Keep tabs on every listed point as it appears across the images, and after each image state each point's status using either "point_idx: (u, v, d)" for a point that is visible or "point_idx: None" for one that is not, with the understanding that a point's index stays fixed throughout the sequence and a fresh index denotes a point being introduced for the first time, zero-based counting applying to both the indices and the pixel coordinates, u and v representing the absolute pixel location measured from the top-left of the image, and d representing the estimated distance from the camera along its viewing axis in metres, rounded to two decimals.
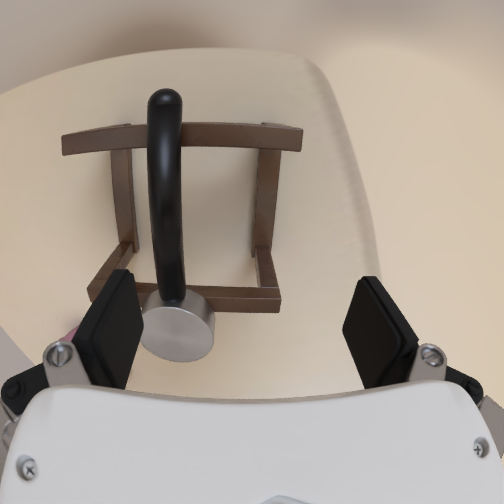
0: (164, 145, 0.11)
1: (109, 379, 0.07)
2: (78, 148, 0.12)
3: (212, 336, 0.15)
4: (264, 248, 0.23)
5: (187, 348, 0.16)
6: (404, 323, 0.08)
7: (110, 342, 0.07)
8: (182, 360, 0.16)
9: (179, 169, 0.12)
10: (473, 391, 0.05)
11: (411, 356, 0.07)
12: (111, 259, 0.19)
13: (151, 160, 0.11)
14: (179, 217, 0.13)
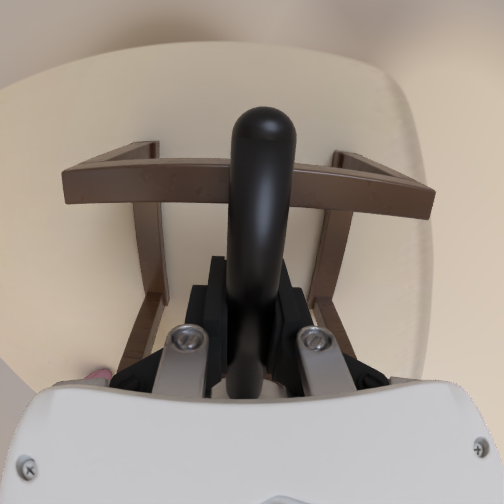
0: (269, 216, 0.07)
1: (221, 360, 0.09)
2: (92, 195, 0.08)
3: None
4: (326, 301, 0.19)
5: None
6: (291, 302, 0.09)
7: None
8: None
9: (283, 250, 0.08)
10: (370, 386, 0.06)
11: None
12: (139, 323, 0.15)
13: (242, 239, 0.07)
14: (273, 315, 0.09)
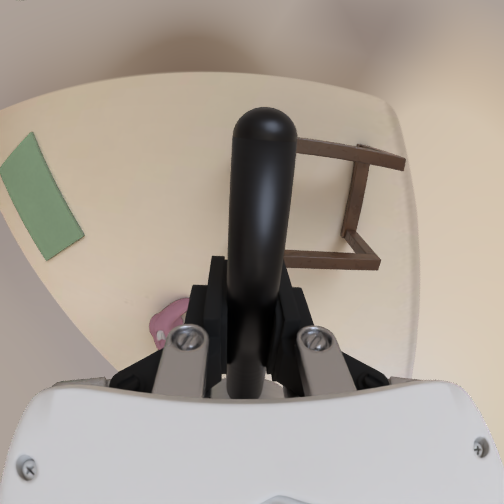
0: (270, 217, 0.07)
1: (221, 360, 0.09)
2: None
3: None
4: (353, 231, 0.30)
5: None
6: (291, 302, 0.09)
7: None
8: None
9: None
10: (370, 386, 0.06)
11: None
12: None
13: (243, 240, 0.07)
14: None
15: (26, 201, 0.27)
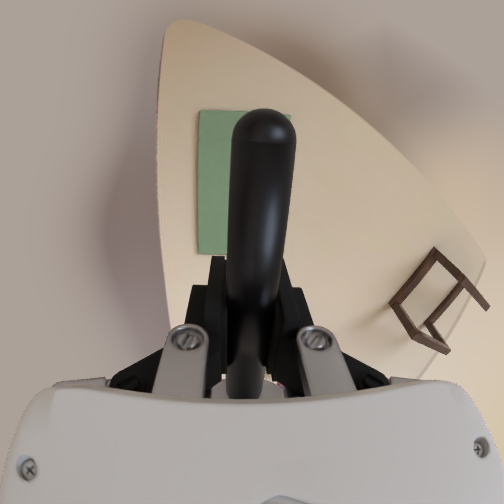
0: (269, 219, 0.07)
1: (221, 360, 0.09)
2: (465, 285, 0.27)
3: None
4: None
5: None
6: (291, 302, 0.09)
7: None
8: None
9: None
10: (370, 386, 0.06)
11: None
12: (406, 315, 0.34)
13: (242, 242, 0.07)
14: (273, 317, 0.09)
15: (224, 179, 0.28)
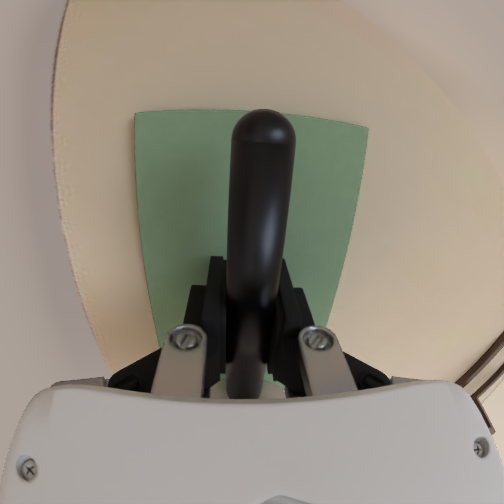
0: (269, 219, 0.07)
1: (219, 360, 0.09)
2: None
3: None
4: (478, 400, 0.24)
5: None
6: (292, 302, 0.09)
7: None
8: None
9: None
10: (371, 385, 0.06)
11: None
12: None
13: (242, 242, 0.07)
14: (273, 317, 0.09)
15: (205, 280, 0.12)
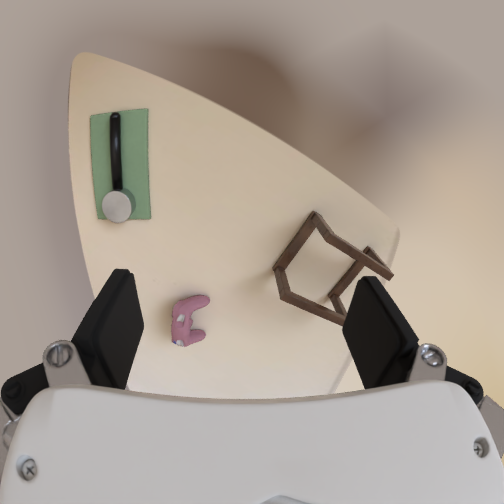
0: (114, 130, 0.30)
1: (109, 379, 0.07)
2: (334, 243, 0.33)
3: (130, 205, 0.35)
4: (337, 296, 0.45)
5: (121, 213, 0.35)
6: (404, 323, 0.08)
7: (110, 342, 0.07)
8: (119, 221, 0.36)
9: (119, 138, 0.31)
10: (473, 391, 0.05)
11: (411, 356, 0.07)
12: (283, 277, 0.40)
13: (110, 136, 0.30)
14: (119, 155, 0.32)
15: (107, 161, 0.33)
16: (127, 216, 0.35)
